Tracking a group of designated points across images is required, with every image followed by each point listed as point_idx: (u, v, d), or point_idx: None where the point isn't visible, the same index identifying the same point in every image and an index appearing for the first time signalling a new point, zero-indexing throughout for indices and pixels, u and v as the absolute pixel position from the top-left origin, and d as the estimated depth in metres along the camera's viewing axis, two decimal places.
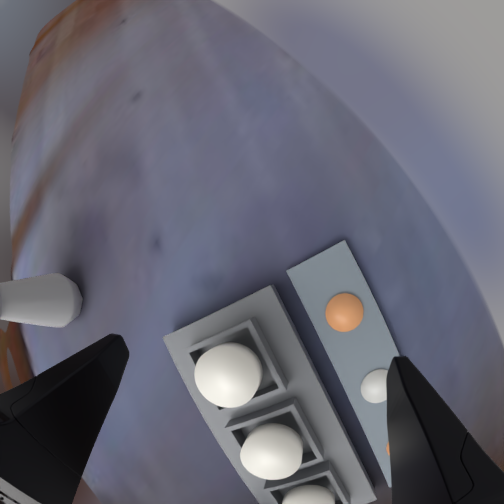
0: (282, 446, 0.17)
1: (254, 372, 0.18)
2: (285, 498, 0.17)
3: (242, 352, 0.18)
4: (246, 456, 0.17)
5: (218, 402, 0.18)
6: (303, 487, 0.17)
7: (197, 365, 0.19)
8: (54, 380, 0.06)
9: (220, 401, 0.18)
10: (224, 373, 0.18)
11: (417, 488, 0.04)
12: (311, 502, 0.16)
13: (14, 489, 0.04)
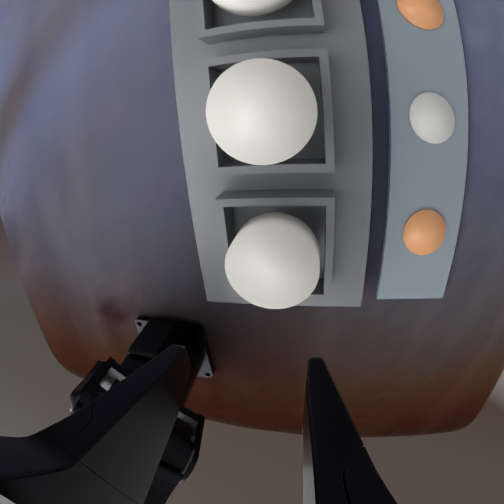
0: (291, 91, 0.10)
1: None
2: (245, 225, 0.14)
3: None
4: (219, 97, 0.10)
5: None
6: (282, 215, 0.14)
7: None
8: (118, 406, 0.06)
9: None
10: None
11: (308, 496, 0.04)
12: (289, 245, 0.13)
13: None
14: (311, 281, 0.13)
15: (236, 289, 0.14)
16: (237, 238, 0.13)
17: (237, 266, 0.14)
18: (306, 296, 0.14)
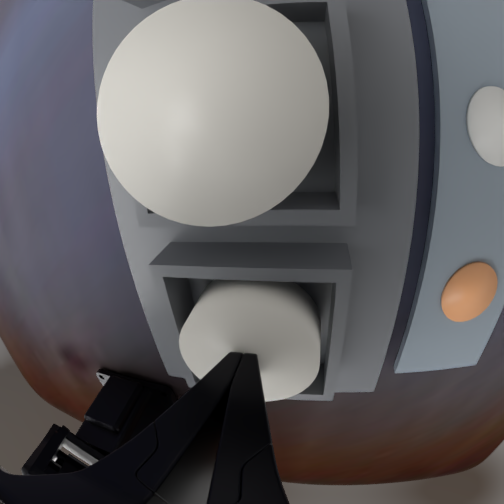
0: (265, 58, 0.04)
1: None
2: (207, 292, 0.09)
3: None
4: (118, 88, 0.04)
5: None
6: None
7: None
8: (188, 425, 0.05)
9: None
10: None
11: None
12: (273, 332, 0.08)
13: None
14: (306, 376, 0.08)
15: (199, 376, 0.09)
16: (192, 317, 0.08)
17: (197, 351, 0.09)
18: (298, 391, 0.09)
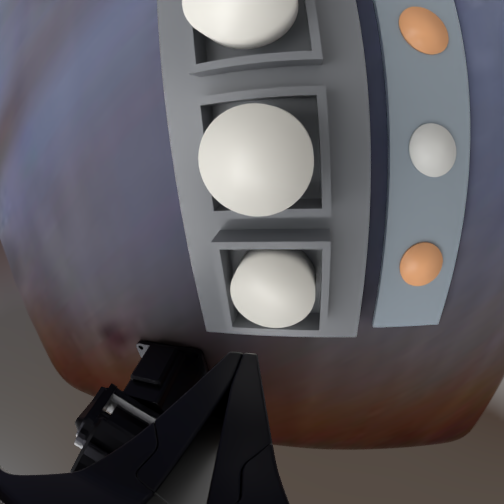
0: (286, 140, 0.10)
1: None
2: (248, 255, 0.15)
3: None
4: (212, 146, 0.11)
5: (206, 27, 0.08)
6: None
7: None
8: (188, 425, 0.05)
9: (210, 26, 0.08)
10: None
11: None
12: (288, 273, 0.14)
13: None
14: (307, 304, 0.15)
15: (240, 311, 0.16)
16: (241, 267, 0.15)
17: (241, 291, 0.15)
18: (303, 317, 0.15)
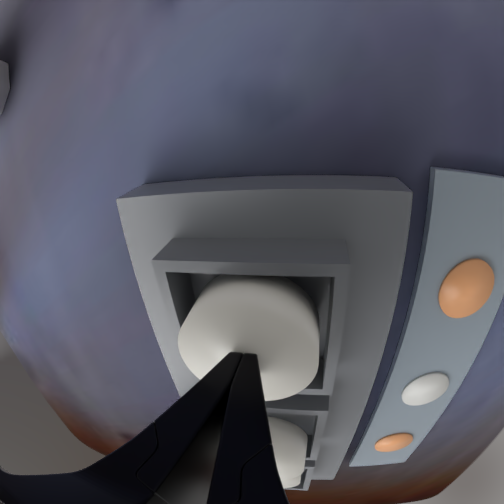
0: (283, 464, 0.10)
1: (311, 372, 0.08)
2: None
3: (308, 331, 0.08)
4: None
5: None
6: None
7: (192, 319, 0.08)
8: (188, 425, 0.05)
9: None
10: None
11: None
12: None
13: None
14: (294, 484, 0.15)
15: None
16: None
17: None
18: None
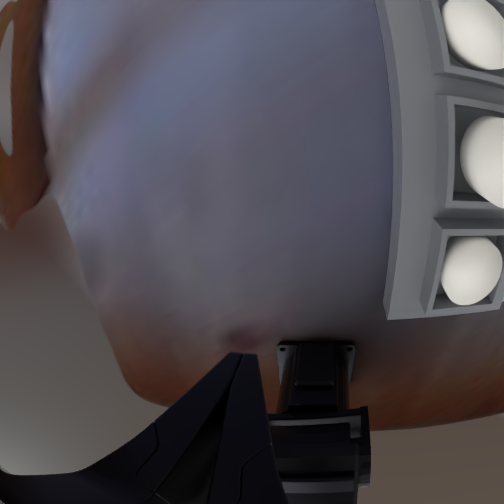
0: None
1: None
2: (458, 241, 0.14)
3: (502, 20, 0.07)
4: (487, 146, 0.09)
5: (469, 49, 0.08)
6: None
7: None
8: (188, 425, 0.05)
9: (471, 49, 0.08)
10: (484, 24, 0.07)
11: None
12: (490, 255, 0.13)
13: None
14: (494, 281, 0.13)
15: (448, 292, 0.14)
16: (462, 252, 0.13)
17: (455, 274, 0.14)
18: (488, 292, 0.14)
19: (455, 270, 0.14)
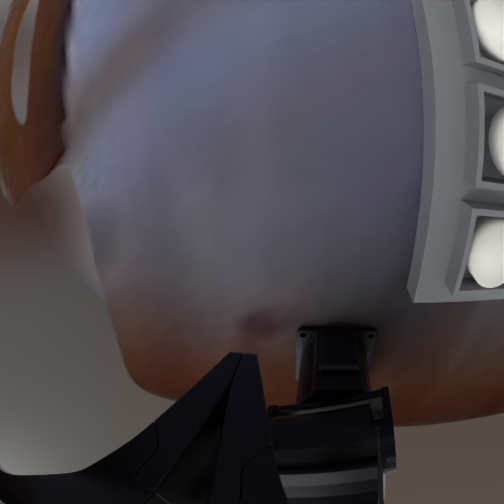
0: None
1: None
2: (483, 223, 0.13)
3: None
4: None
5: (496, 44, 0.08)
6: None
7: None
8: (188, 425, 0.05)
9: (498, 44, 0.08)
10: None
11: None
12: None
13: None
14: None
15: (474, 273, 0.14)
16: (489, 232, 0.13)
17: (482, 254, 0.13)
18: None
19: (482, 250, 0.13)
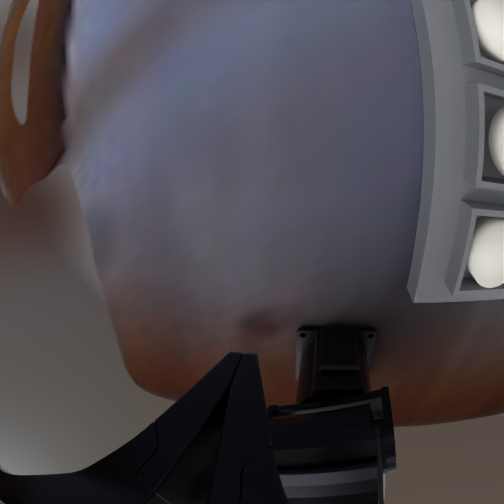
0: None
1: None
2: (484, 223, 0.13)
3: None
4: None
5: (496, 44, 0.08)
6: None
7: None
8: (188, 425, 0.05)
9: (498, 44, 0.08)
10: None
11: None
12: None
13: None
14: None
15: (474, 273, 0.14)
16: (489, 232, 0.13)
17: (482, 254, 0.13)
18: None
19: (482, 250, 0.13)
